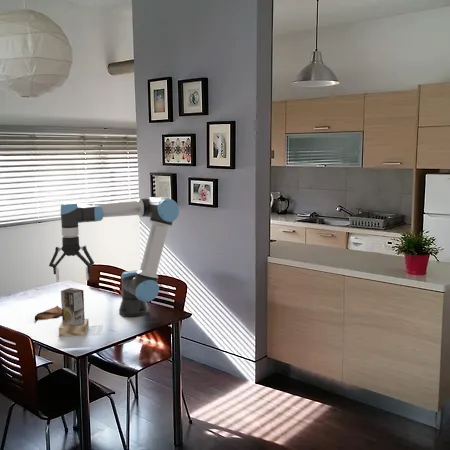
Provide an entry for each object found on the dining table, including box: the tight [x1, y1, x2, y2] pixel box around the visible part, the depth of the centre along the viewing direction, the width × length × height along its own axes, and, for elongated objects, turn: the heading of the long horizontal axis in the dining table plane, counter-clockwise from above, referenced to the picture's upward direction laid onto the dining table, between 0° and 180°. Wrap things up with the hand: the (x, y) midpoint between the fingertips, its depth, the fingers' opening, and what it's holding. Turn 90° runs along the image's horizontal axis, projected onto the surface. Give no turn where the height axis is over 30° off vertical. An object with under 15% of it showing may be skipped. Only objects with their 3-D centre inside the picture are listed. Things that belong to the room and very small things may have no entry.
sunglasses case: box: [34, 305, 62, 322], centre depth 266 cm, size 18×7×7 cm
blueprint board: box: [56, 324, 104, 338], centre depth 241 cm, size 20×14×1 cm
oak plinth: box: [58, 318, 90, 337], centre depth 241 cm, size 12×12×4 cm
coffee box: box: [60, 287, 86, 326], centre depth 239 cm, size 9×6×16 cm
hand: (72, 280), depth 238 cm, fingers open, 13 cm apart
